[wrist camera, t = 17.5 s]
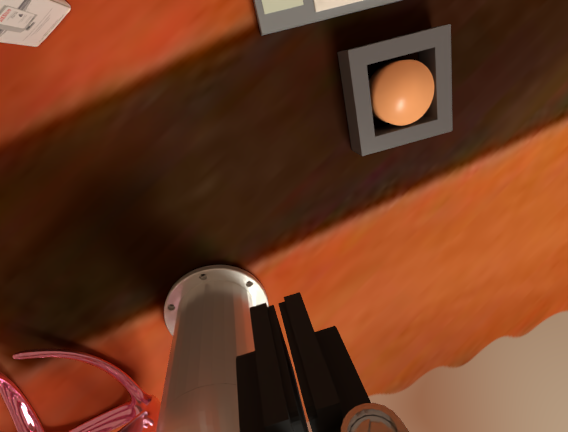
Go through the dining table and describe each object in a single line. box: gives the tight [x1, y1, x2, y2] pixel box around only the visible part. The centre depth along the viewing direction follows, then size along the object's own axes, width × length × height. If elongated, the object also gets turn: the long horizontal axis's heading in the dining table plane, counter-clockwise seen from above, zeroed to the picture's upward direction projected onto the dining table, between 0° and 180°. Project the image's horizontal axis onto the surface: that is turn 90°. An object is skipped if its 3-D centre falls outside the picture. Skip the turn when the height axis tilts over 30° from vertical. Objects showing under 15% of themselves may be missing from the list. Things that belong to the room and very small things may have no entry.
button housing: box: [337, 24, 452, 156], centre depth 34 cm, size 10×10×3 cm
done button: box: [369, 60, 434, 126], centre depth 34 cm, size 6×6×2 cm
